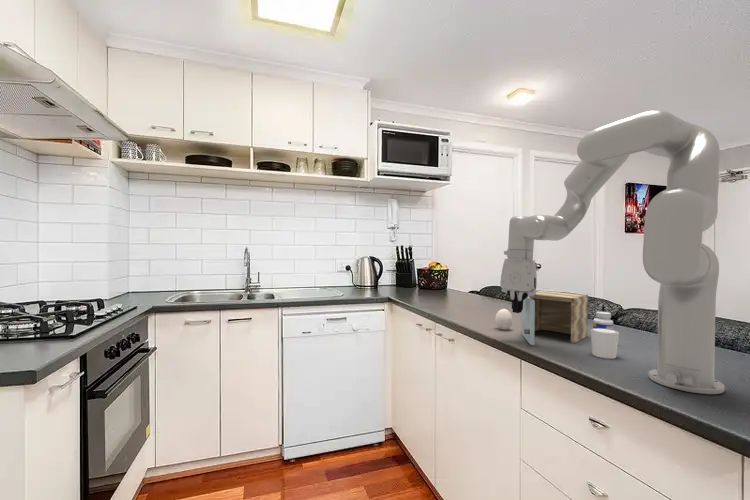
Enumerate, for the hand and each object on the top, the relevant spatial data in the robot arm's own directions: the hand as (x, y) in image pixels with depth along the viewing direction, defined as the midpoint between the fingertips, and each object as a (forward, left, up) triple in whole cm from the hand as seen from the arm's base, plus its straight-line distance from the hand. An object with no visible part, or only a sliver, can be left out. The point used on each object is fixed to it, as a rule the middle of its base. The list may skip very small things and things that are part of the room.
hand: (517, 312), depth 113 cm
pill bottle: (+18, -19, -10) cm, 28 cm away
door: (+3, -1, -9) cm, 9 cm away
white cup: (+3, -23, -10) cm, 25 cm away
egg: (+12, +11, -10) cm, 19 cm away
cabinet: (+17, -5, -9) cm, 21 cm away
